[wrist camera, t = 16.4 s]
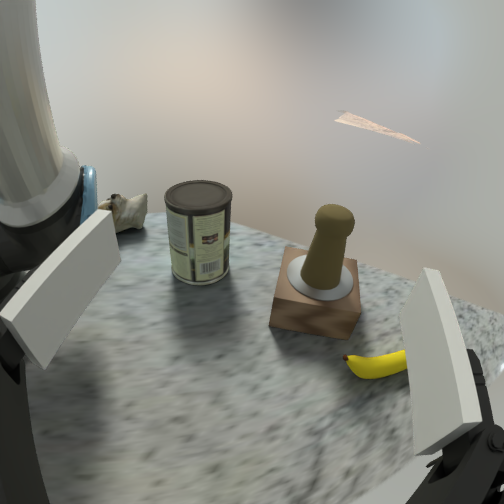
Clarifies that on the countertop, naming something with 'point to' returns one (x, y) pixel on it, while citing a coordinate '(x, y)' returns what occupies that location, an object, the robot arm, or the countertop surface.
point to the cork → (327, 247)
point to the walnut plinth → (315, 300)
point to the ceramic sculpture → (126, 211)
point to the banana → (377, 365)
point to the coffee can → (199, 230)
